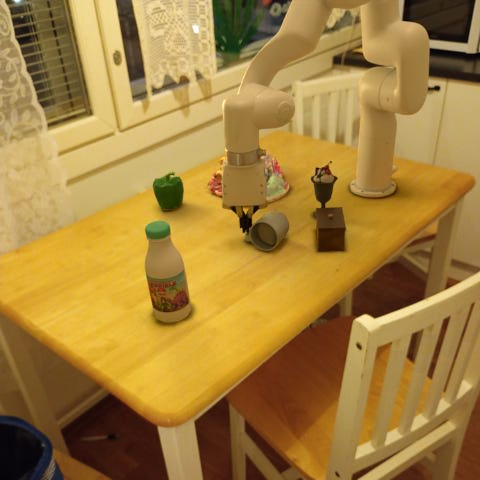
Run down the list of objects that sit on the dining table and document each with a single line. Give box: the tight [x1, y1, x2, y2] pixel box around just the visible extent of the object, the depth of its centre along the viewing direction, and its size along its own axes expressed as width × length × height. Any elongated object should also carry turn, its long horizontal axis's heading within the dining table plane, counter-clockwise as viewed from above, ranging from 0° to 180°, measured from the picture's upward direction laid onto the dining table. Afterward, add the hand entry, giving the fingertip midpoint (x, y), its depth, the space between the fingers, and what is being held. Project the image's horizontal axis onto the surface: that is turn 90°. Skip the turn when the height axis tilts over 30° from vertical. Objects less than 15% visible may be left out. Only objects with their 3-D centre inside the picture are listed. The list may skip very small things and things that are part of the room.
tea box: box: [315, 206, 347, 252], centre depth 125 cm, size 6×10×7 cm, turn 176°
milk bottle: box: [144, 220, 192, 323], centre depth 103 cm, size 8×8×20 cm
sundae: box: [310, 160, 339, 218], centre depth 134 cm, size 7×7×15 cm
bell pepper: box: [152, 171, 185, 211], centre depth 145 cm, size 8×8×10 cm
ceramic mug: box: [243, 210, 290, 252], centre depth 127 cm, size 11×8×8 cm
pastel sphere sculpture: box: [206, 150, 290, 203], centre depth 153 cm, size 25×24×9 cm
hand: (246, 230), depth 127 cm, fingers closed
